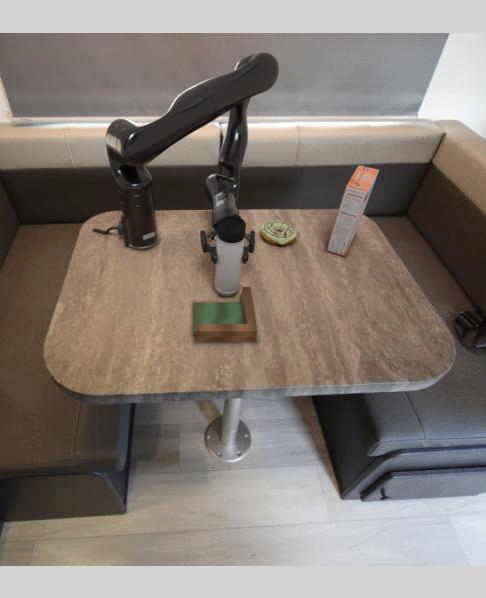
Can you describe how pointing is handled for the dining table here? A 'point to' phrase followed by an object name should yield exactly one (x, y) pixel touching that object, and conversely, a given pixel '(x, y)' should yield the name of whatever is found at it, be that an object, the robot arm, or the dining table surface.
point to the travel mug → (229, 254)
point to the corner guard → (226, 320)
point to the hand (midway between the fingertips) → (230, 260)
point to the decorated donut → (278, 232)
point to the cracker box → (351, 209)
